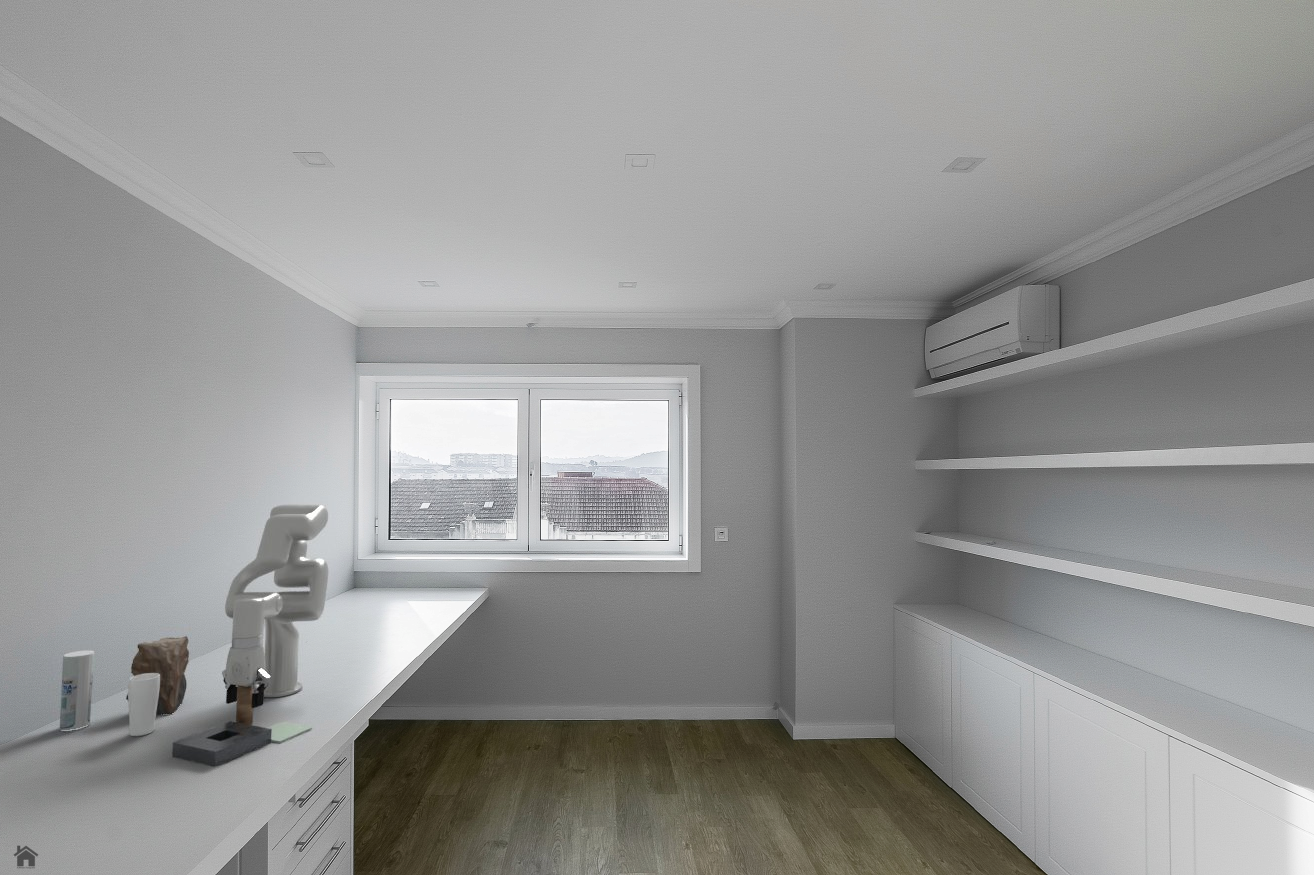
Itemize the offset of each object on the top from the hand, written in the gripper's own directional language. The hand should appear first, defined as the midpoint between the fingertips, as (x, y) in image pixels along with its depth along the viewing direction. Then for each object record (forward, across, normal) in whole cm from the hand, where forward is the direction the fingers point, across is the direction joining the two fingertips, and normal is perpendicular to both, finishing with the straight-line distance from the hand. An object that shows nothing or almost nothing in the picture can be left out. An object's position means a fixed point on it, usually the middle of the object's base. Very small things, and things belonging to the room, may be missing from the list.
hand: (244, 704), depth 182 cm
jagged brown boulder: (+6, -33, -1) cm, 34 cm away
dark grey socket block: (+6, +10, -13) cm, 17 cm away
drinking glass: (+6, -20, -14) cm, 25 cm away
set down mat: (+6, +14, 0) cm, 15 cm away
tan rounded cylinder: (+6, 0, 0) cm, 6 cm away
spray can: (+6, -41, -18) cm, 45 cm away
